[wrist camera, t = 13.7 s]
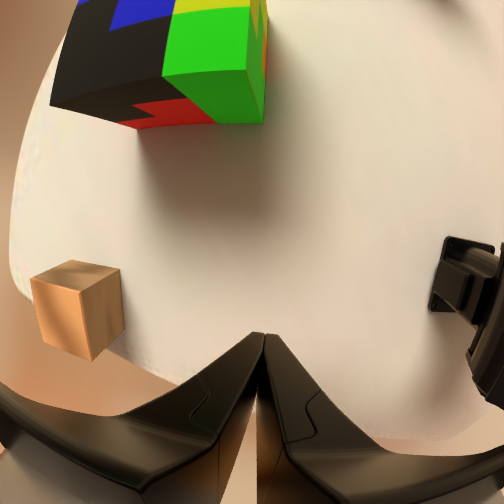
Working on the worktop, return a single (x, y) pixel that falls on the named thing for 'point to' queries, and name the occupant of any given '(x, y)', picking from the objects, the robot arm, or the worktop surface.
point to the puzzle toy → (164, 62)
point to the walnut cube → (79, 307)
